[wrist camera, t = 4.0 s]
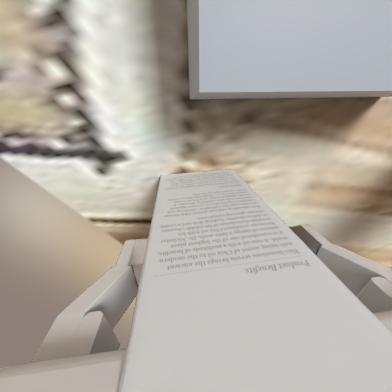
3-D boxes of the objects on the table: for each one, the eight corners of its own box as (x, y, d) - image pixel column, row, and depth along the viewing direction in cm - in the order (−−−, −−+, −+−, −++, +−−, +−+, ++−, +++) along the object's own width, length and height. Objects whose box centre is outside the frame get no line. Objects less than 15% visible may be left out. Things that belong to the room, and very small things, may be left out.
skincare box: (167, 217, 15) (145, 492, 4) (159, 173, 13) (79, 499, 2) (232, 210, 15) (361, 443, 5) (235, 167, 13) (483, 409, 3)
